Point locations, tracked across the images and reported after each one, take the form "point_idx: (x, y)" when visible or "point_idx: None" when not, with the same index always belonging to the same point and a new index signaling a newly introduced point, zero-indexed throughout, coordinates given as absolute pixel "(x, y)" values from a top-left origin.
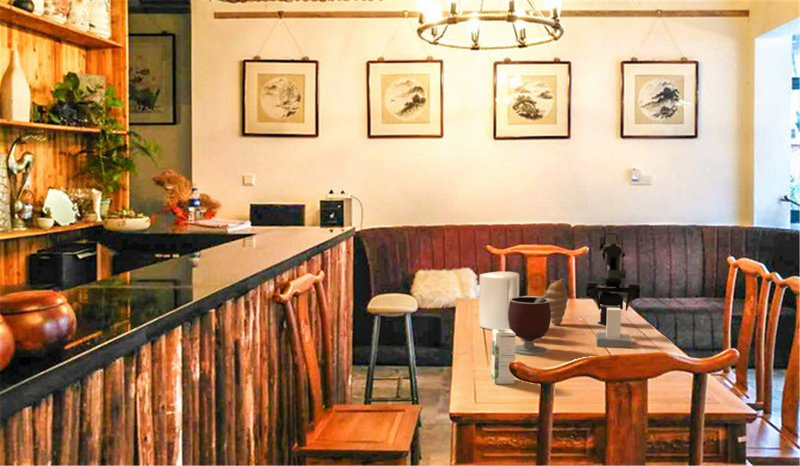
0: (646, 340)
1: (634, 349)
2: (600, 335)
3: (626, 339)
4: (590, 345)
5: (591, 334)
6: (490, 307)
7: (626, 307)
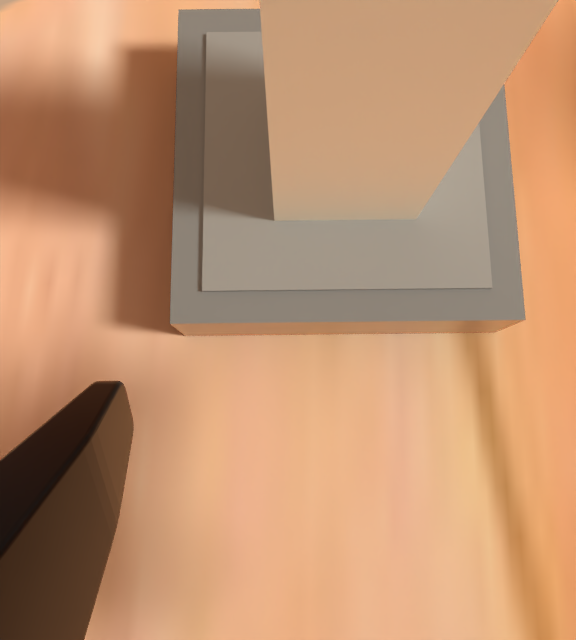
0: (8, 413)
1: (163, 29)
2: (473, 150)
3: (216, 38)
4: (526, 78)
5: (562, 568)
6: None
7: (93, 403)
